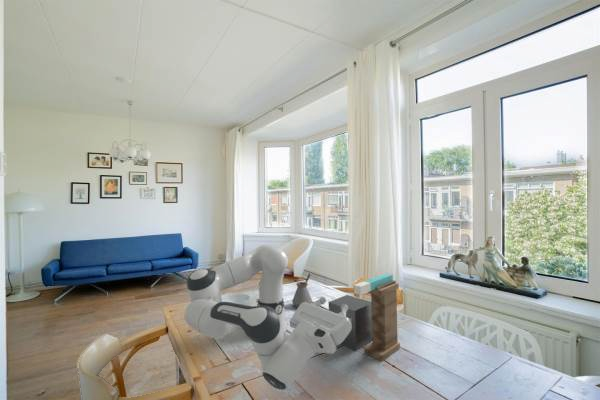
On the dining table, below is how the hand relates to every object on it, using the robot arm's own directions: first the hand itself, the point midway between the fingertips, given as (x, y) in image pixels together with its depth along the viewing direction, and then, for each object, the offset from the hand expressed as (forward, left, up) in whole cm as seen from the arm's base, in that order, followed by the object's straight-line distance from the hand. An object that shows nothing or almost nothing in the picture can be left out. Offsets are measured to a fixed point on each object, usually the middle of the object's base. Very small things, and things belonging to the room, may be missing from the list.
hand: (334, 301), depth 91 cm
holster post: (0, +29, -27) cm, 39 cm away
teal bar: (0, +24, -1) cm, 24 cm away
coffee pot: (-60, +43, -27) cm, 79 cm away
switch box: (-14, +27, -27) cm, 40 cm away
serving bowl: (-80, +6, -27) cm, 85 cm away
